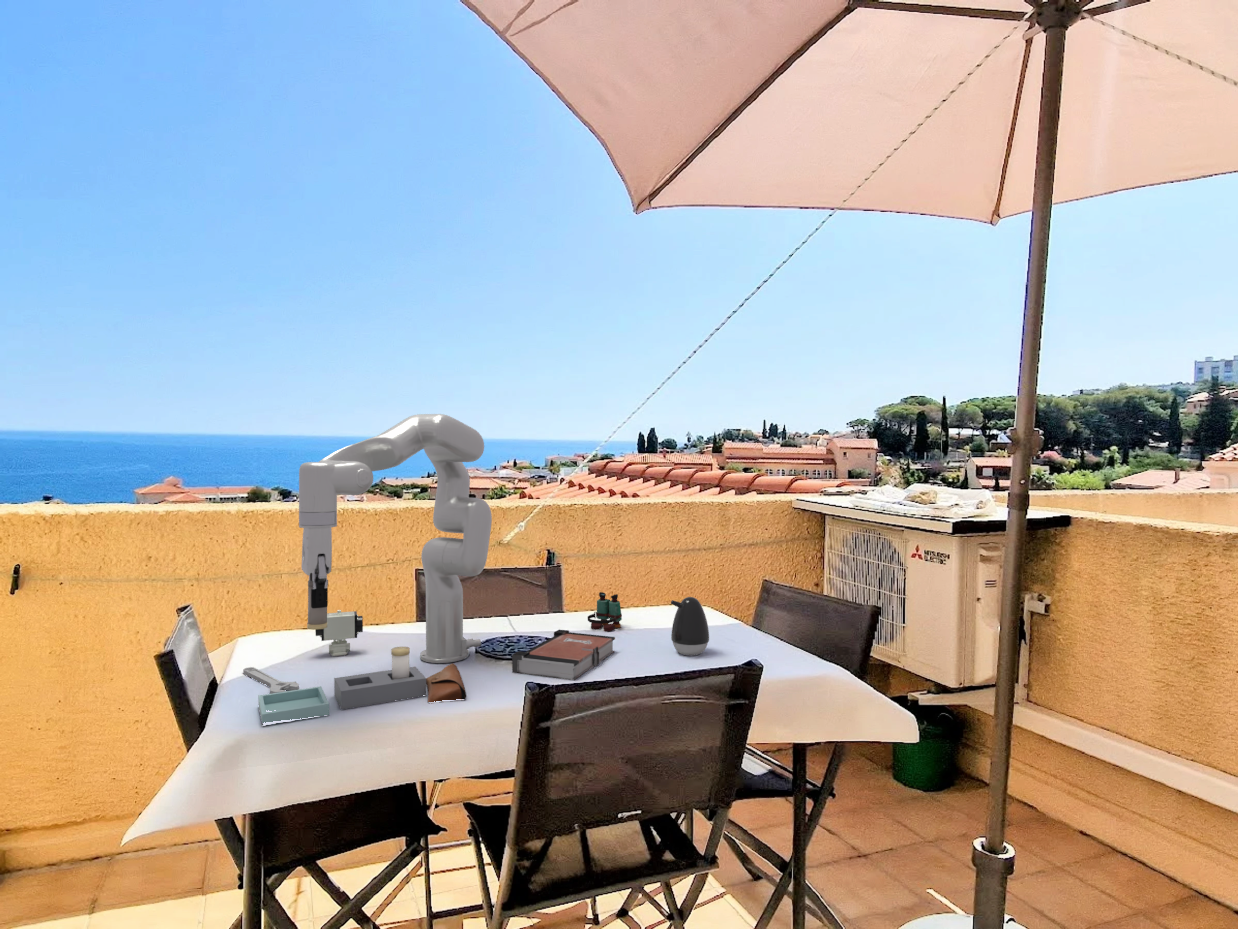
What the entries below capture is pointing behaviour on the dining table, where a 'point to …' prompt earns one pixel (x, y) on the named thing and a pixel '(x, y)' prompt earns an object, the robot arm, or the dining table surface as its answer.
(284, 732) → the dining table surface
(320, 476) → the robot arm
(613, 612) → the green twin tank jetpack
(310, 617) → the cylinder
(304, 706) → the parts tray
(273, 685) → the adjustable wrench
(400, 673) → the cylinder
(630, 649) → the dining table surface
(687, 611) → the pump dispenser
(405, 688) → the block
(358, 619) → the pneumatic valve
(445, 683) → the sunglasses case
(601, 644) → the book
